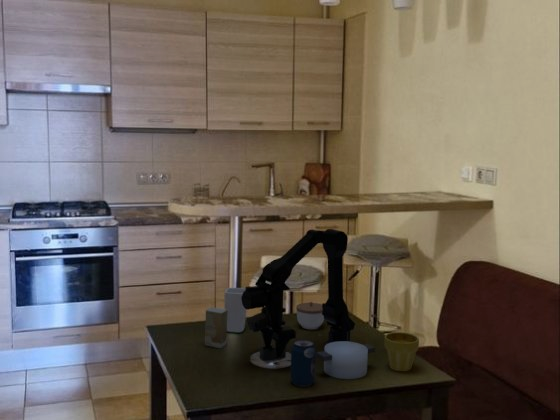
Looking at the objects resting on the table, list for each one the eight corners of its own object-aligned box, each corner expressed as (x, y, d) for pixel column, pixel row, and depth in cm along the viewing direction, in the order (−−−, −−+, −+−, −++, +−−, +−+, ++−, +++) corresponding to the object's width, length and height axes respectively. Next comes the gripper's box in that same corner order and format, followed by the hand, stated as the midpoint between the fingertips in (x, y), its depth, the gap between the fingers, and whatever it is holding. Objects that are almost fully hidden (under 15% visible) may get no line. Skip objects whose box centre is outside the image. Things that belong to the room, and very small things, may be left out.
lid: (281, 351, 214) (282, 337, 213) (303, 365, 202) (303, 350, 201) (243, 357, 207) (243, 343, 207) (262, 372, 195) (263, 357, 194)
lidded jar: (330, 327, 239) (331, 302, 238) (312, 333, 231) (313, 308, 230) (308, 320, 246) (308, 296, 245) (289, 326, 238) (290, 302, 237)
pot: (358, 359, 207) (359, 337, 206) (383, 373, 196) (384, 350, 195) (307, 368, 198) (308, 346, 197) (330, 383, 187) (331, 360, 186)
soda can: (317, 386, 184) (318, 346, 183) (293, 388, 183) (294, 347, 181) (311, 377, 191) (312, 338, 190) (288, 378, 190) (289, 339, 188)
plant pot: (397, 376, 194) (398, 344, 192) (376, 364, 203) (377, 334, 201) (424, 370, 198) (426, 340, 197) (403, 359, 207) (404, 330, 206)
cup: (227, 327, 236) (228, 287, 234) (247, 328, 235) (247, 288, 233) (223, 333, 229) (223, 292, 227) (243, 334, 228) (244, 293, 226)
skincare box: (204, 345, 216) (204, 310, 214) (210, 341, 220) (210, 306, 218) (221, 348, 213) (221, 312, 212) (227, 344, 217) (227, 309, 216)
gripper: (237, 300, 206) (237, 347, 208) (264, 316, 190) (263, 367, 192) (269, 296, 211) (268, 342, 214) (297, 311, 195) (296, 361, 197)
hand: (272, 352), depth 204 cm, fingers open, 7 cm apart
